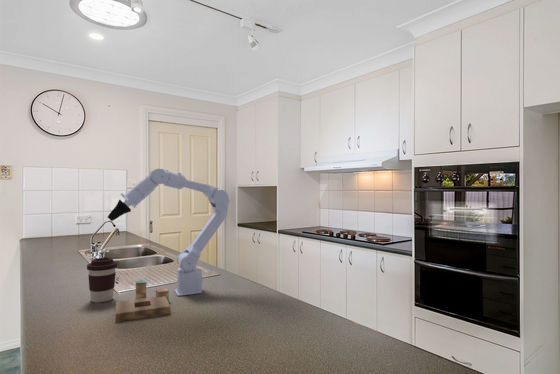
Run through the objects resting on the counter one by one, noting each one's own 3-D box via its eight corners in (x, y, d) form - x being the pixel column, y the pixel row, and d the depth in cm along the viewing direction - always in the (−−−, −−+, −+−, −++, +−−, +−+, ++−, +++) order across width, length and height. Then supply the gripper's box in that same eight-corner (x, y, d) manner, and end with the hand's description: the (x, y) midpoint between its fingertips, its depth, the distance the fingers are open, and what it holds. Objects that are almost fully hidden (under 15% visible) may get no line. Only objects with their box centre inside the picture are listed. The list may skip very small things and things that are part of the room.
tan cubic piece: (165, 299, 122) (165, 288, 122) (168, 301, 120) (168, 290, 120) (155, 301, 120) (155, 289, 120) (158, 303, 117) (159, 292, 117)
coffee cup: (103, 305, 115) (104, 262, 115) (79, 303, 117) (80, 261, 117) (122, 296, 125) (123, 257, 125) (100, 294, 127) (100, 256, 127)
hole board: (165, 302, 118) (165, 295, 118) (169, 313, 107) (169, 306, 107) (116, 309, 111) (116, 301, 111) (115, 322, 100) (115, 313, 100)
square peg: (145, 298, 123) (145, 279, 123) (146, 301, 119) (146, 282, 119) (135, 299, 121) (135, 280, 121) (135, 302, 118) (135, 283, 118)
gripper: (131, 185, 128) (102, 209, 124) (132, 184, 115) (100, 211, 111) (144, 198, 130) (116, 222, 126) (146, 198, 117) (116, 225, 113)
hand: (109, 218), depth 118 cm, fingers open, 7 cm apart
